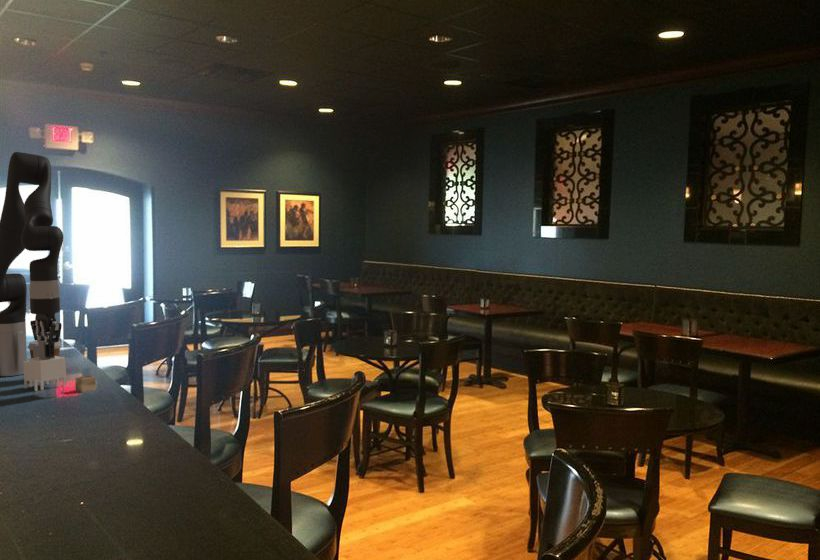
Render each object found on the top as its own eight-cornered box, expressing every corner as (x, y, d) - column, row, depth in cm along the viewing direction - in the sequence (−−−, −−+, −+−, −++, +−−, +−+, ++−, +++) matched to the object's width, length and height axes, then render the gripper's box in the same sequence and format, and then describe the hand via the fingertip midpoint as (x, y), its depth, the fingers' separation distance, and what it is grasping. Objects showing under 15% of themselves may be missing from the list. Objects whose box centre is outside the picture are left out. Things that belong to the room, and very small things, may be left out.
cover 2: (29, 386, 196) (27, 341, 195) (54, 382, 202) (52, 338, 201) (41, 389, 192) (39, 343, 191) (66, 385, 198) (64, 340, 197)
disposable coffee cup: (37, 383, 213) (36, 345, 213) (23, 379, 219) (22, 342, 218) (68, 378, 221) (67, 341, 220) (53, 374, 227) (52, 338, 226)
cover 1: (24, 388, 207) (22, 345, 206) (48, 384, 212) (46, 342, 211) (35, 391, 203) (33, 347, 202) (59, 387, 208) (57, 344, 207)
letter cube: (75, 390, 204) (75, 377, 203) (88, 388, 207) (88, 374, 206) (82, 392, 201) (82, 378, 201) (95, 390, 204) (95, 376, 204)
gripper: (19, 296, 196) (21, 356, 198) (43, 298, 188) (45, 361, 189) (45, 294, 202) (48, 352, 204) (70, 296, 194) (72, 357, 195)
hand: (47, 356), depth 196 cm, fingers closed on cover 2, 3 cm apart
